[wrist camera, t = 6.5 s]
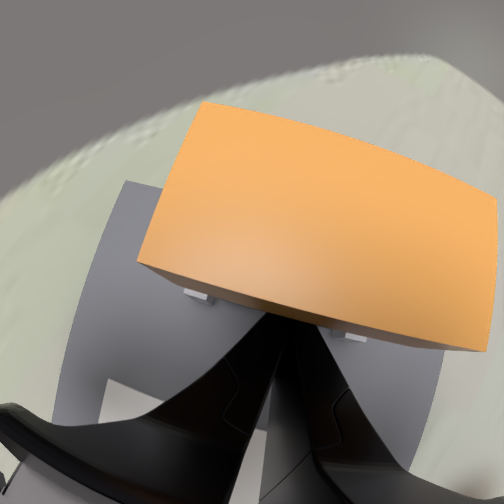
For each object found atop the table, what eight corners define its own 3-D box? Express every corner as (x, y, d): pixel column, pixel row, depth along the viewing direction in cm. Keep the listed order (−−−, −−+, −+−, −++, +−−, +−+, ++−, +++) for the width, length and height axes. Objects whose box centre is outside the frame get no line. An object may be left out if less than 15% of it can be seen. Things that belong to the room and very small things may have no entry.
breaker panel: (347, 515, 16) (381, 567, 9) (82, 444, 17) (26, 474, 10) (416, 287, 20) (478, 264, 13) (148, 212, 22) (111, 159, 15)
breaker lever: (324, 337, 14) (485, 351, 4) (218, 308, 15) (136, 261, 4) (337, 285, 15) (496, 198, 4) (234, 256, 15) (202, 101, 4)
